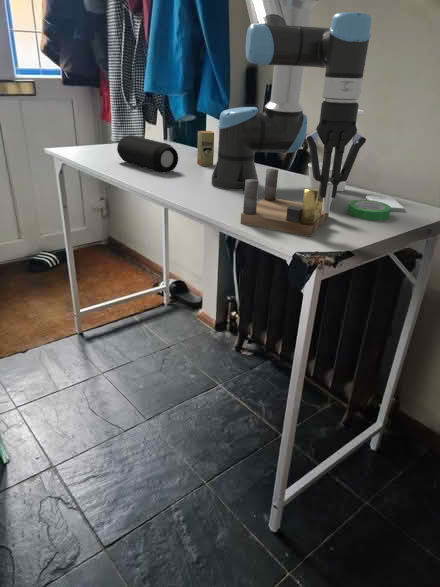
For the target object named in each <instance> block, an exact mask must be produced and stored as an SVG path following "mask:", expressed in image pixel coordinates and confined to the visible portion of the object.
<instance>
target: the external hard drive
mask: <svg viewBox="0 0 440 587" xmlns="http://www.w3.org/2000/svg"><path fill="white" fill-rule="evenodd" d="M365 198H366V199H367V200H373V201H378V202H382V203H385V204H387V205H389V206H390V207H391V210H390V212H401V213H402V212H403V213H405V212H406V208H405V207H404V206H402V205H401V204H400V203H399V202H398V201H397V200H396V199H394V198H393V197H392V196H383V195H382V196H381V195H370V194H369V195H365ZM366 199H365V200H366Z"/></svg>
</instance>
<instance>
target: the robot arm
mask: <svg viewBox="0 0 440 587" xmlns="http://www.w3.org/2000/svg"><path fill="white" fill-rule="evenodd" d="M318 3H319V0H245V4H246V8H247V12H248V17H249V20H250V24H249V26H248V27H247V30H246V37H245V46H244V47H245V48H244V49H245V58H246V60H247V62H249V63H250V64H255V65H261V66H273V74H272V83H271V93H270V100H269V101H268V102H267V103H266V104H265V105H264V111H263V112H259V108H258V107H256V106H240V107H233V108H228V109H225V110H222V112H220V115H219V123H218V143H217V144H218V145H217V147H218V148H217V161H216V163H215V166H214V169H213V171H212V174H211V183H210V184H211V185H212V186H214V187H216V188H219V189H223V190H228V191H229V190H230V191H245V180H247V179H254V180H258V181H259V176H258V173H257V169H256V164H255V153H282V154H286V153H287V154H288V153H296V152H297V151H299V150H300V148H301V147H302V146H303V144H304V142H305V140H306V142H307V144H308V147H309V153H310V154H309V155H310V161H311V162H310V163H312V171H313V177H314V178H315V180H316V181H319V182H321V185H320V193H319V194H320V197H321V198H323V203H322V211H323V212H324V213H329V214H330V211H331V210H330V209H331V204H332V202H331V198H333V199H335V198H336V196H337V192H338V191H337V185H338V184H339V183H340V182H343V181H344V182H345V181H346V182H347V180H348V179H349V176H350V173H351V171H352V168H353V166H354V163H355V162H356V158H357V157H358V154H359V151H360V149H361V148H362V147H363V146H364V144H365V143H366V141H367V138H366V137H364V136H362V135H361V134H360V133H358V130H357V127H356V119H357V120H358V114H357V113H358V110H359V106H360V105H359V103H358V102H357V101H358V100H360V98H361V94H362V93H361V92H362V85H363V79H364V78H363V77H364V73H365V67H366V60H367V55H368V48H369V43H370V38H371V27H372V26H371V24H372V16H371V15H370V14H369V13H365V12H355V11H353V12H350V11H348V12H346V11H345V12H344V11H343V12H338V13H335V14H334V15H332V18H331V22H330V23H331V24H330V27H319V26H311V25H310V23H311V18H312V9H313V8H314V7H315V6H316V5H317V4H318ZM305 67H307V68H320V69H325V74H324V83H323V89H322V90H323V91H322V98H323V99H324V101H322V102H321V106H320V107H321V108H320V114H319V122H318V124H317V126H316V128H315V130H314V131H313V132H312V133H310V134H307V131H308V130H307V129H308V117H307V115H306V114H305V113H303V112H304V108H303V107H302V106H301V104H300V99H301V98H300V97H301V90H302V89H301V88H302V82H303V75H304V68H305ZM318 138H319V139H320V141H321V143H322V144H323V157H322V162H323V164H322V172H321V175H320V168H319V162H320V161H319V154H318V153H319V152H318V147H317V143H318V140H319V139H318ZM352 138H353V140H352V146H351V148H350V151H349V153H348V155H347V158H346V160H345V163H344V165H343V168H342V170H341V164H342V158H343V153H344V149H345V146H346V145H347V144H348V143H349V141H350V140H351V139H352ZM333 147H335V155H334V162H333V168H332V175H331V182H328V180H329V172H330V164H331V156H332V152H333ZM340 170H341V173H340Z"/></svg>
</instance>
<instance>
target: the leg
mask: <svg viewBox="0 0 440 587" xmlns="http://www.w3.org/2000/svg"><path fill="white" fill-rule="evenodd" d="M318 191H319V190H317V189H314V188H309V187H306V188H304V190H303V197H302V203H303V204H302V211H301V219H300V222H301V223H303V224H313V223H314V222H315V221H316V220H317V219H318V218H319V217H320V214H321V210H322V203H323V202H322V201H318V200H317V198H318Z"/></svg>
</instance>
